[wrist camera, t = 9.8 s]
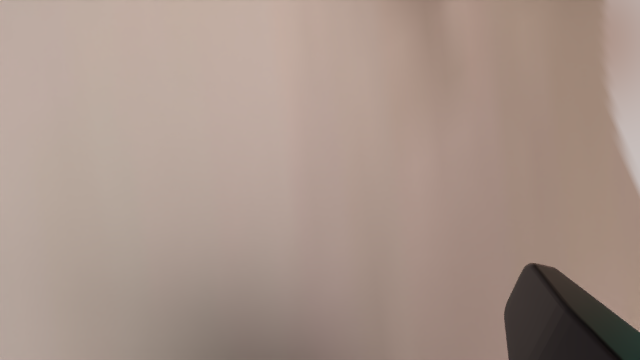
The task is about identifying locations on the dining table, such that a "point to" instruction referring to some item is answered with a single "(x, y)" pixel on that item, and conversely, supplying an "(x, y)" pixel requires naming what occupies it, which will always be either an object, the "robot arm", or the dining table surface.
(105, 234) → the dining table surface
